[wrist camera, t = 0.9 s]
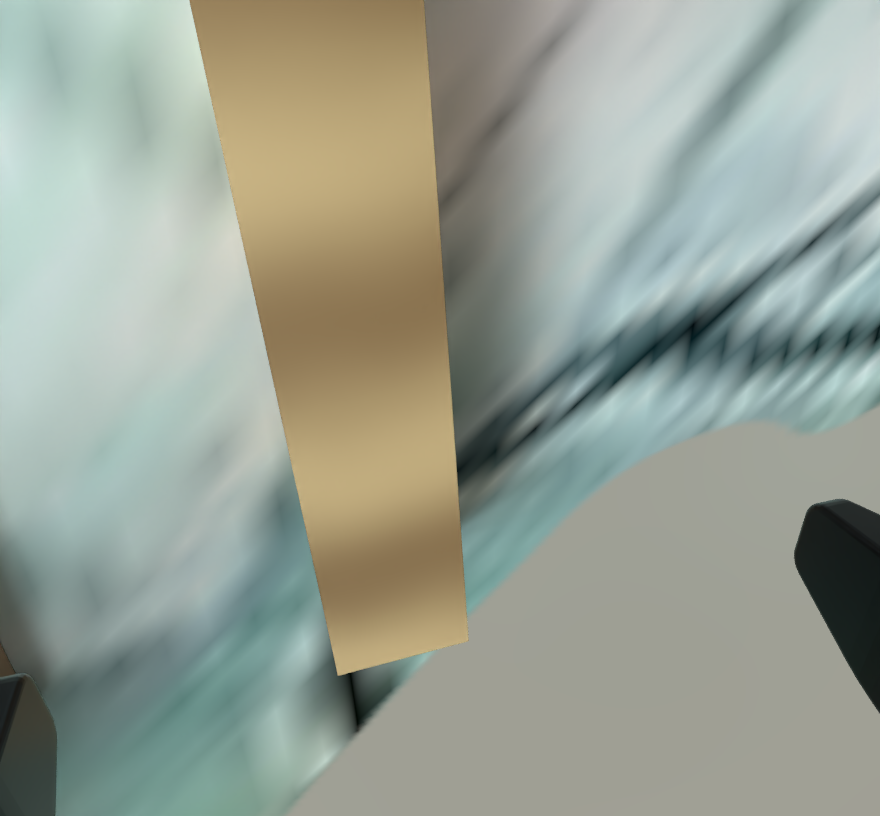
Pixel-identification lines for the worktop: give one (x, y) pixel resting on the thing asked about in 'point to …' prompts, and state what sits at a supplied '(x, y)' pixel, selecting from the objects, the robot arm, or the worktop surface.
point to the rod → (349, 299)
